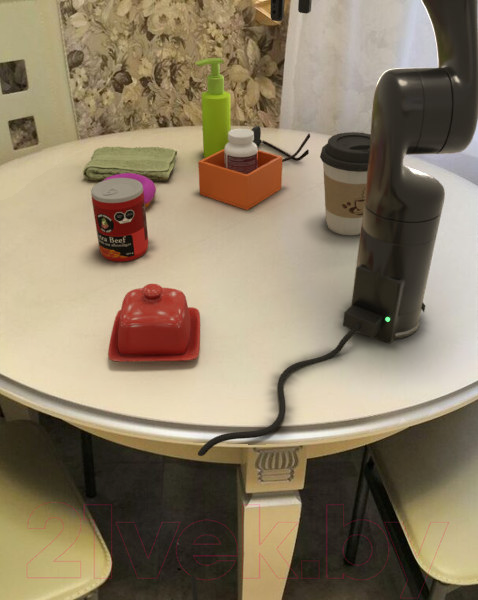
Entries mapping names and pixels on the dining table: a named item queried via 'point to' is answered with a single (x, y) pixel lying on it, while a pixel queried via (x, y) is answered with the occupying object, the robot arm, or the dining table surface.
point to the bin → (240, 180)
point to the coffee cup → (345, 181)
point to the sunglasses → (258, 141)
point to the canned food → (120, 218)
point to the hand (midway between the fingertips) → (291, 16)
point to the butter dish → (155, 327)
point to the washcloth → (131, 162)
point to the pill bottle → (241, 151)
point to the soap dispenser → (215, 110)
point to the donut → (147, 184)
